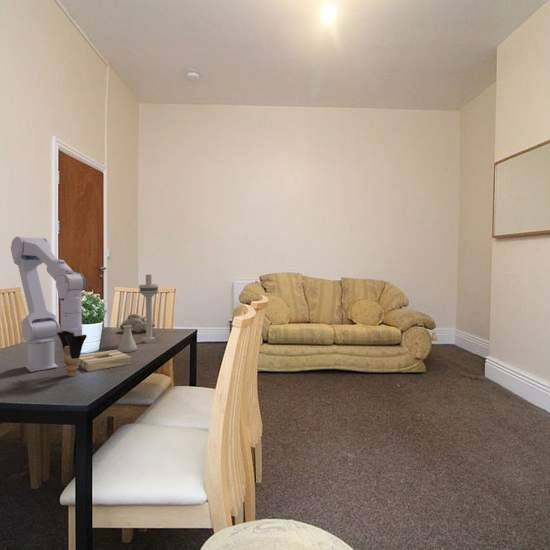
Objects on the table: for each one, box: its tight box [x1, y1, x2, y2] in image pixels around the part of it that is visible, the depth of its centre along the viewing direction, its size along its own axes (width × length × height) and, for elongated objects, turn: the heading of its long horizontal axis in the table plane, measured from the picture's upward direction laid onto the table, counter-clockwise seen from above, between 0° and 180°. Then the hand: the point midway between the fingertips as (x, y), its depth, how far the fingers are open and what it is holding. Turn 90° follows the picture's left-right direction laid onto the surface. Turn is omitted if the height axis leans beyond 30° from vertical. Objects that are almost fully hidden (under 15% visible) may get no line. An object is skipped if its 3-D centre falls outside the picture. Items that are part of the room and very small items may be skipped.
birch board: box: [78, 349, 132, 372], centre depth 132 cm, size 14×14×2 cm
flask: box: [117, 325, 138, 353], centre depth 151 cm, size 7×7×10 cm
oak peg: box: [63, 346, 79, 378], centre depth 118 cm, size 4×4×9 cm
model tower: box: [138, 274, 160, 344], centre depth 169 cm, size 8×8×30 cm
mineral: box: [119, 313, 156, 333], centre depth 194 cm, size 12×17×10 cm
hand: (71, 355), depth 117 cm, fingers open, 7 cm apart
